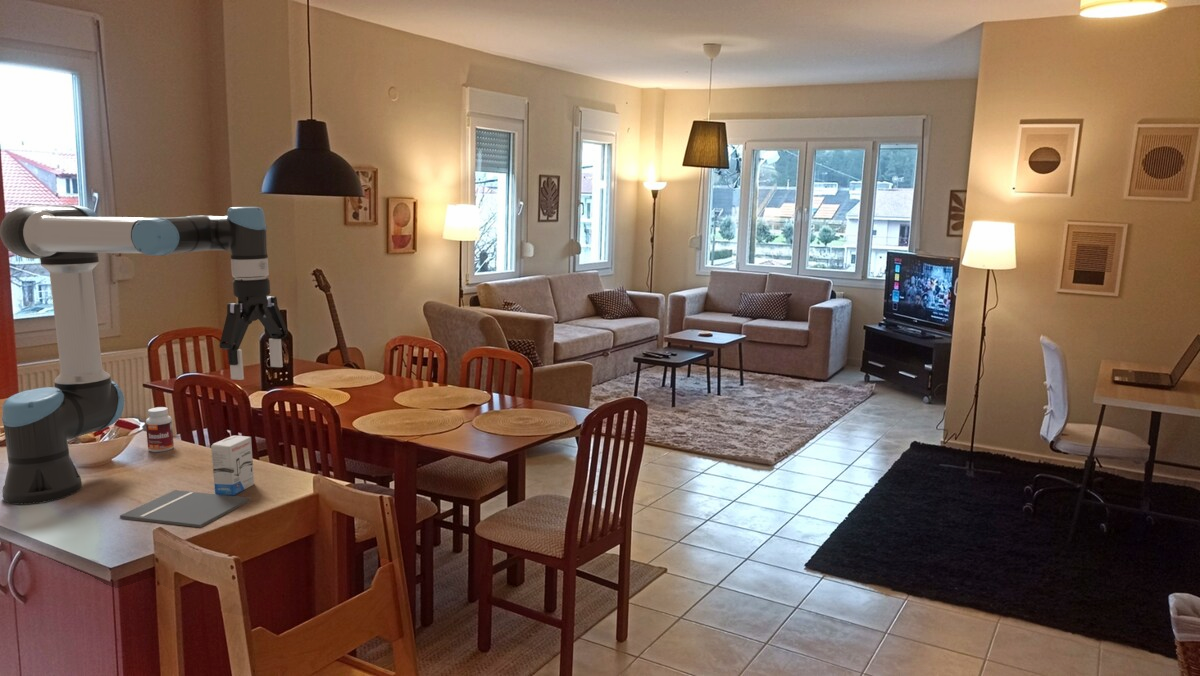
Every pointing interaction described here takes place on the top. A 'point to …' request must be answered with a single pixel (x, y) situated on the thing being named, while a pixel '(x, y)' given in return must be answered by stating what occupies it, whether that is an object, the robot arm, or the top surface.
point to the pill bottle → (159, 430)
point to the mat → (186, 508)
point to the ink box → (232, 465)
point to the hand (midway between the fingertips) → (257, 372)
